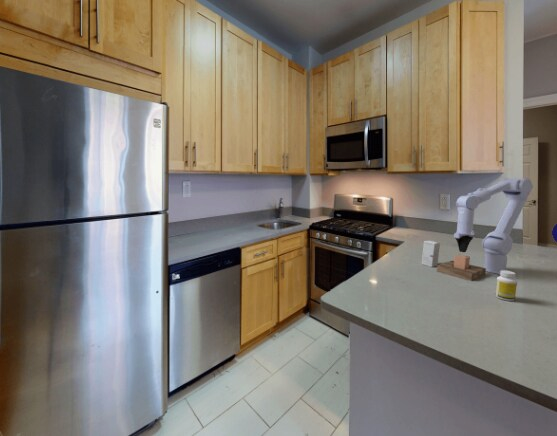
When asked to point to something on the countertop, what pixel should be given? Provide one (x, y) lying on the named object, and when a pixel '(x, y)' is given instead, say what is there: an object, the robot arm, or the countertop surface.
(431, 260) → the skincare box
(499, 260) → the robot arm
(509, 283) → the supplement bottle
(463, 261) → the terracotta peg
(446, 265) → the walnut socket block
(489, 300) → the countertop surface
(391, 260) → the countertop surface
